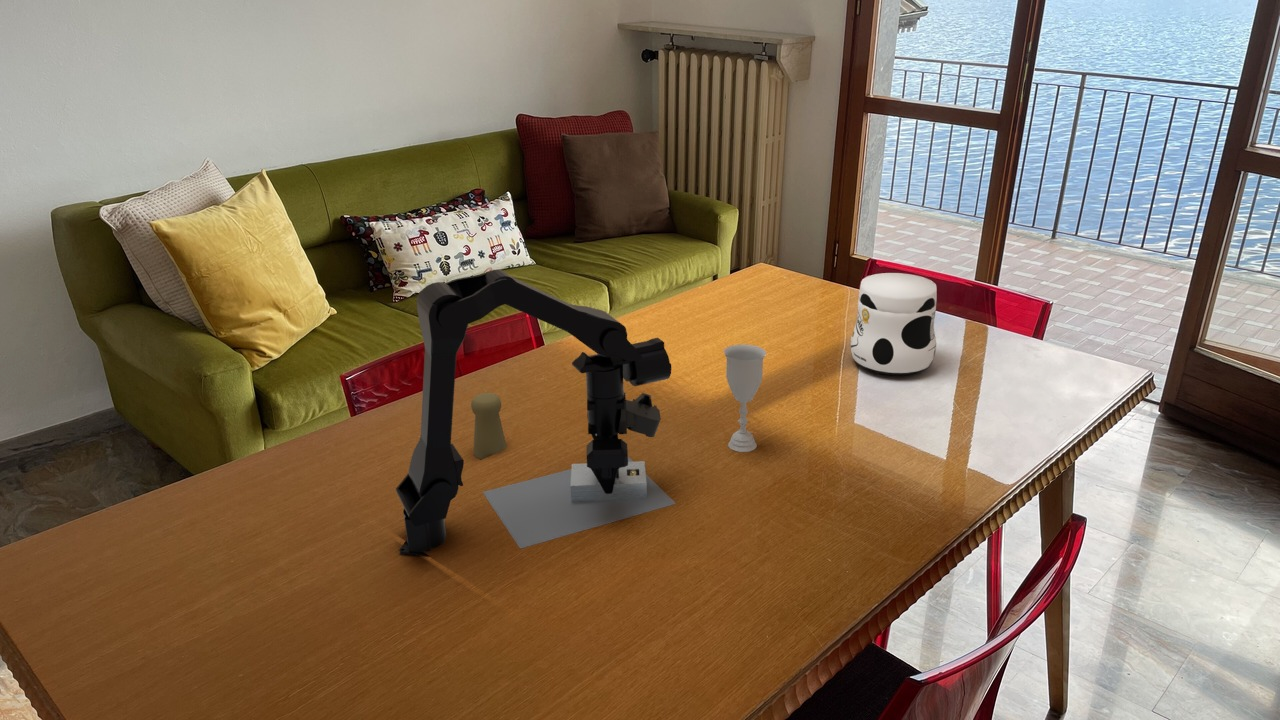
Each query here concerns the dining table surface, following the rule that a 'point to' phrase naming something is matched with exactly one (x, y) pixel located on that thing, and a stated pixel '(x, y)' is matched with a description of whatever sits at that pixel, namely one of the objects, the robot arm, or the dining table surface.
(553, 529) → the mount board
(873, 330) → the milk container
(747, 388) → the chalice
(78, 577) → the dining table surface
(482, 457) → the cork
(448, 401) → the robot arm
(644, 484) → the silver rectangular block
